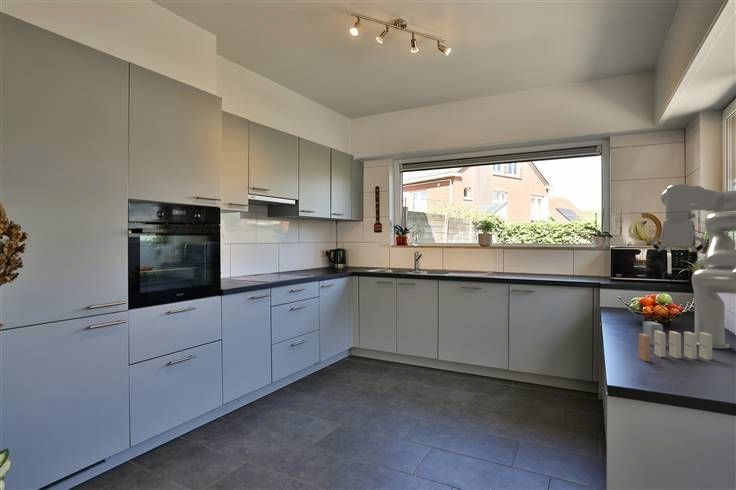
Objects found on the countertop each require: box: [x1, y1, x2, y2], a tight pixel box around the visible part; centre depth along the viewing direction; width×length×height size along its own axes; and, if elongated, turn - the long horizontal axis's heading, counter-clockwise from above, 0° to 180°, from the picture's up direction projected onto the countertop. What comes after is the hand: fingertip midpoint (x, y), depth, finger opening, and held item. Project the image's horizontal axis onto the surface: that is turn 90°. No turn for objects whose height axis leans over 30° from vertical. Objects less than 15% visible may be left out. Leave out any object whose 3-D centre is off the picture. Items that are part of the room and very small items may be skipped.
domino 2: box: [653, 331, 667, 358], centre depth 153 cm, size 2×5×9 cm, turn 169°
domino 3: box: [668, 330, 682, 359], centre depth 152 cm, size 2×5×9 cm, turn 168°
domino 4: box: [683, 331, 698, 360], centre depth 151 cm, size 2×5×9 cm, turn 169°
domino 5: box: [698, 332, 713, 361], centre depth 150 cm, size 2×5×9 cm, turn 168°
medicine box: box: [642, 321, 664, 346], centre depth 173 cm, size 8×4×9 cm, turn 168°
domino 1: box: [638, 333, 651, 363], centre depth 148 cm, size 2×5×9 cm, turn 168°
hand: (677, 262), depth 156 cm, fingers open, 9 cm apart
